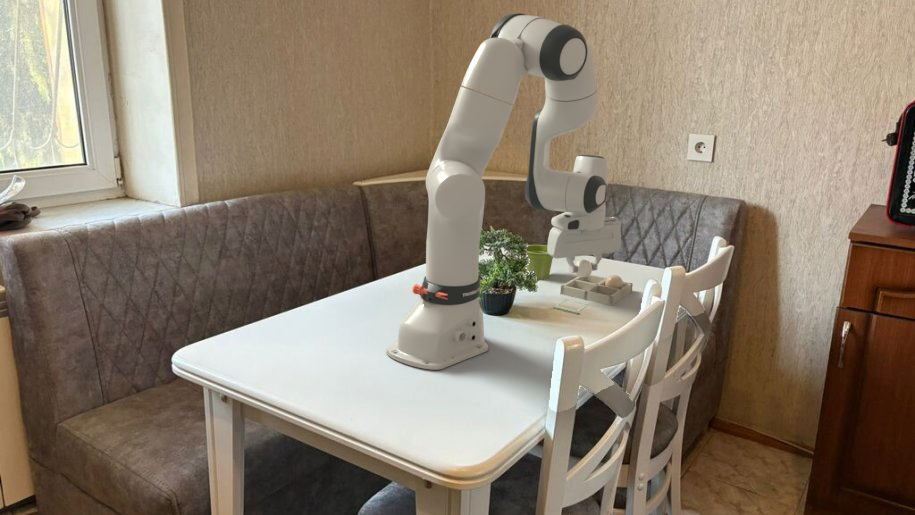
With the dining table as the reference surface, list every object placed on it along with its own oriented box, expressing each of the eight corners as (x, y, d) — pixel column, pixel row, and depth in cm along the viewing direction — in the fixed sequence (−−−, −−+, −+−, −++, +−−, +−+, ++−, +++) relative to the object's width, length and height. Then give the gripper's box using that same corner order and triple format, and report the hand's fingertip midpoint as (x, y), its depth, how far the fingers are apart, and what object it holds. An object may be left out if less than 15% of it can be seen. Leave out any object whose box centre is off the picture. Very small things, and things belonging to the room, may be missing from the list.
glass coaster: (577, 314, 166) (577, 311, 166) (553, 309, 169) (553, 306, 169) (588, 307, 171) (588, 304, 171) (565, 302, 174) (565, 299, 174)
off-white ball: (586, 280, 174) (587, 263, 173) (570, 277, 177) (571, 260, 176) (595, 276, 178) (596, 259, 176) (579, 273, 180) (580, 256, 179)
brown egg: (618, 296, 177) (619, 279, 176) (601, 292, 180) (603, 275, 179) (624, 291, 181) (626, 275, 180) (608, 288, 184) (610, 271, 182)
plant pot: (514, 275, 195) (516, 246, 192) (543, 272, 198) (544, 243, 196) (531, 285, 186) (533, 254, 184) (560, 281, 190) (563, 251, 188)
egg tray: (611, 308, 171) (612, 297, 170) (560, 296, 178) (560, 285, 177) (631, 294, 182) (632, 283, 181) (582, 283, 189) (583, 273, 188)
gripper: (614, 213, 180) (609, 263, 184) (545, 218, 172) (542, 271, 176) (628, 218, 174) (624, 270, 178) (558, 224, 166) (555, 278, 170)
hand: (583, 271), depth 177 cm, fingers closed on off-white ball, 5 cm apart
